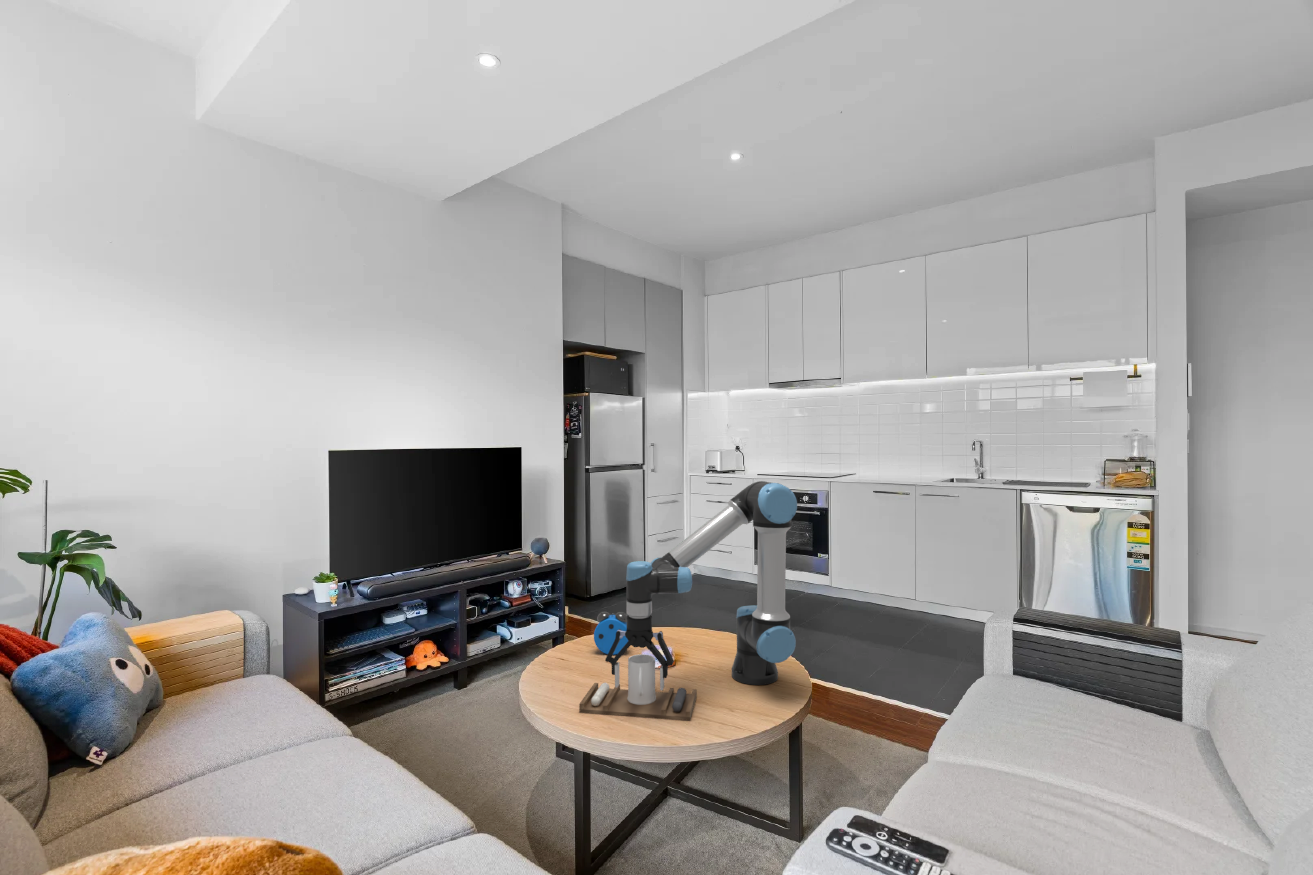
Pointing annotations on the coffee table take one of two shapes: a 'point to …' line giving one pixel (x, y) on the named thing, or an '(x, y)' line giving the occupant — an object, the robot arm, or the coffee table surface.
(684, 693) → the dark grey rounded rod
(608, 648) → the alarm clock
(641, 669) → the mug
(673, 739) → the coffee table surface
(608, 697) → the tray
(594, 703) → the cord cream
